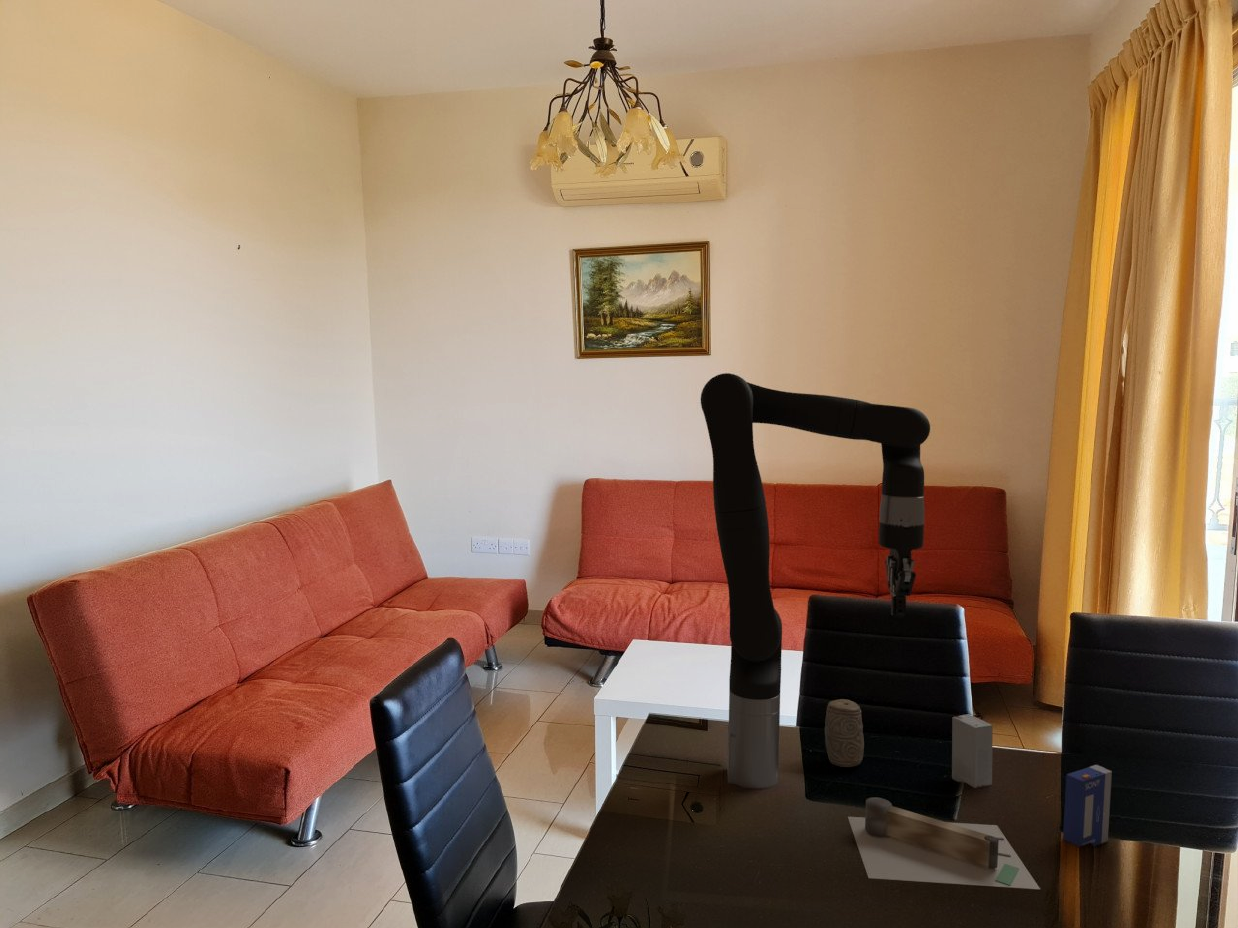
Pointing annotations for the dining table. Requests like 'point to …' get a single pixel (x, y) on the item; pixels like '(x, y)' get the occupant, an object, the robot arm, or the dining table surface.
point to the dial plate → (938, 861)
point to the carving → (844, 733)
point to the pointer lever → (930, 833)
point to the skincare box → (972, 751)
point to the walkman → (1087, 806)
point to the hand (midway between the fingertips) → (898, 616)
